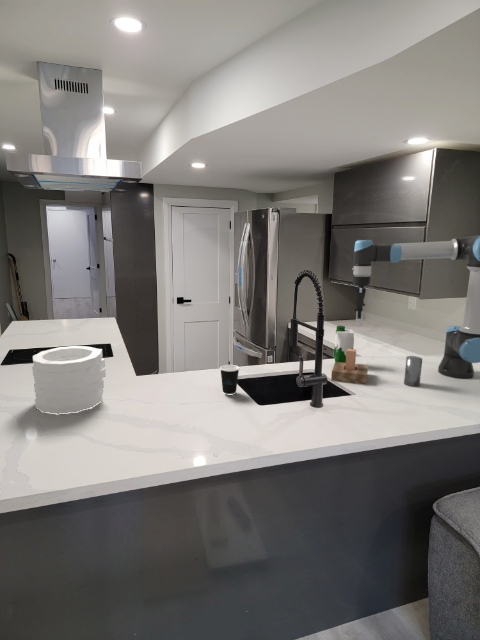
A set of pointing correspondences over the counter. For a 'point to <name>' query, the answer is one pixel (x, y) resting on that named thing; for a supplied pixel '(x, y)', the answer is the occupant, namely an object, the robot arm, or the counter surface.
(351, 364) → the square peg
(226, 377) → the dixie cup
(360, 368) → the socket block
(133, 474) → the counter surface
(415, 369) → the round post
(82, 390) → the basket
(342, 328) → the milk carton
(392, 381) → the counter surface
